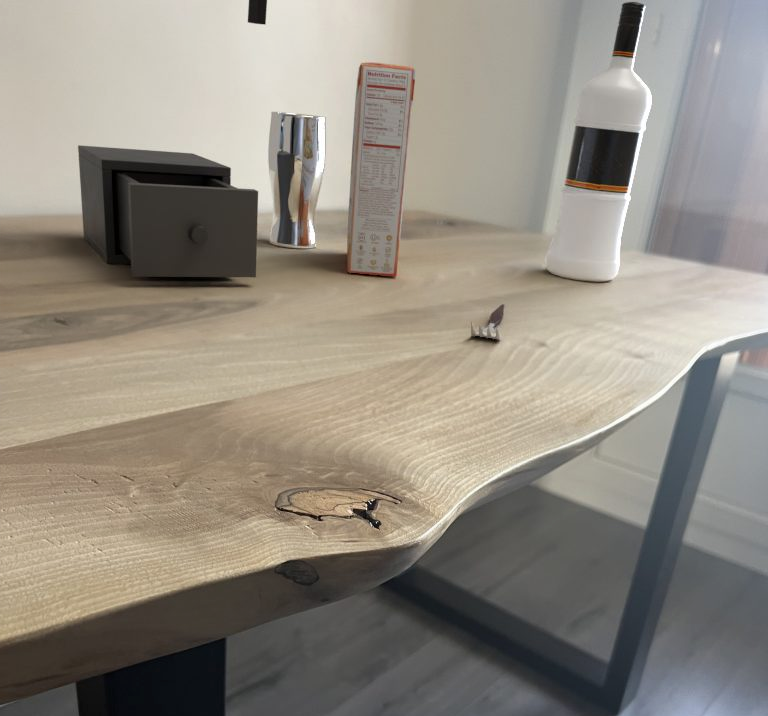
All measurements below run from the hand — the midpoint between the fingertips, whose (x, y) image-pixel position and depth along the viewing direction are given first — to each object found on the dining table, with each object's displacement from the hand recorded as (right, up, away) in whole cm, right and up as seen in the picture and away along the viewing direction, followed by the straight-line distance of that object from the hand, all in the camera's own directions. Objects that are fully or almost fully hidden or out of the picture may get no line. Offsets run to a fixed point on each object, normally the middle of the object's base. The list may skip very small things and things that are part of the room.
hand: (182, 10), depth 71 cm
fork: (+28, -27, +3) cm, 39 cm away
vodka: (+43, -14, +34) cm, 56 cm away
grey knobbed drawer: (-3, -19, +10) cm, 22 cm away
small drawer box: (-8, -15, +20) cm, 26 cm away
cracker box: (+16, -15, +25) cm, 33 cm away
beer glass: (+6, -10, +33) cm, 35 cm away
